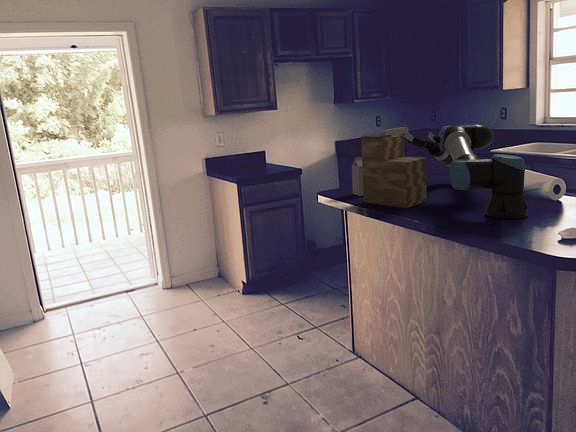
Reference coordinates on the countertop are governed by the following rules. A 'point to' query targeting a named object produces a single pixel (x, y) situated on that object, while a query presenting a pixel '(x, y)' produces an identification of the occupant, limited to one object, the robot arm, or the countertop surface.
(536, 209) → the countertop surface
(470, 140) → the robot arm
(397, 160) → the oak step block
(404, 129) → the turner
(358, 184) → the milk carton
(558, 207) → the countertop surface
